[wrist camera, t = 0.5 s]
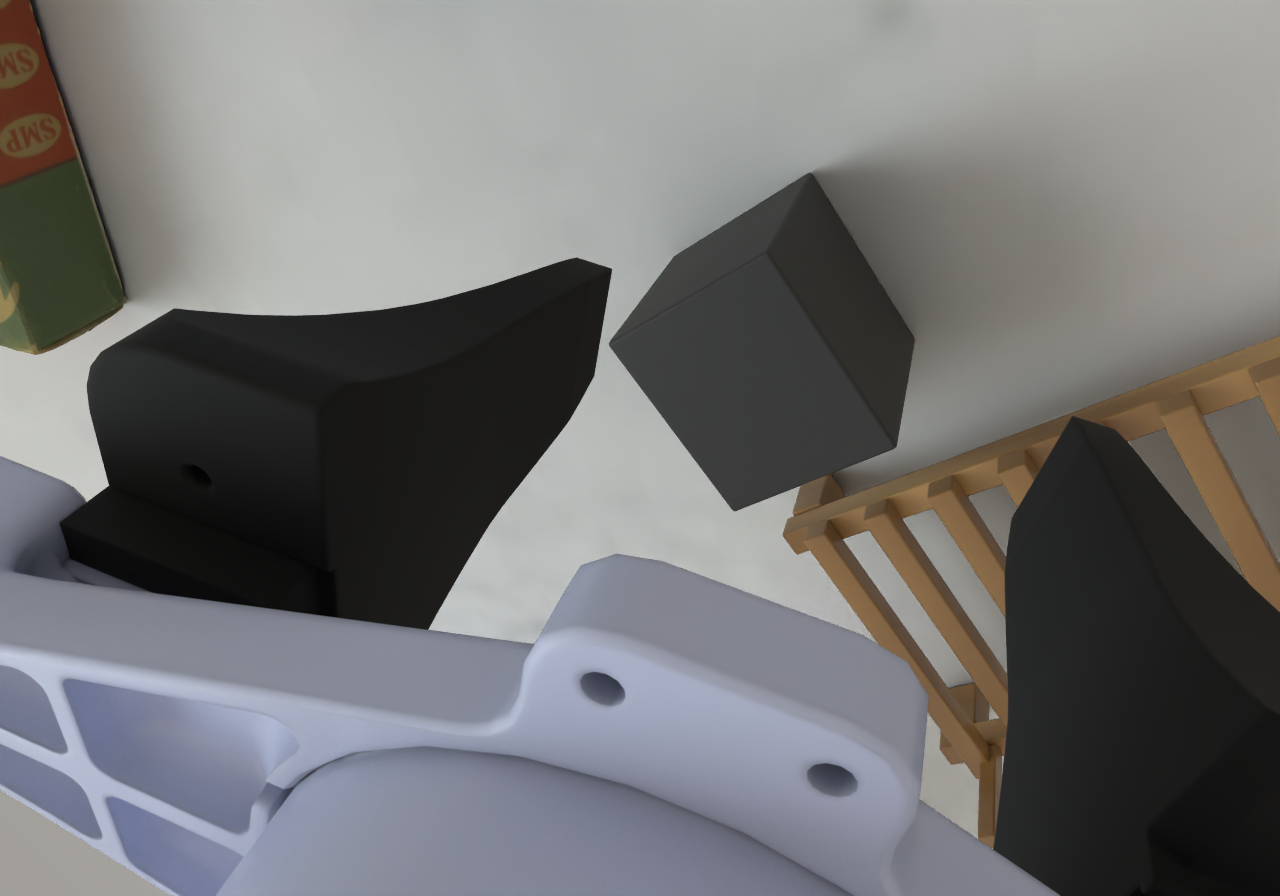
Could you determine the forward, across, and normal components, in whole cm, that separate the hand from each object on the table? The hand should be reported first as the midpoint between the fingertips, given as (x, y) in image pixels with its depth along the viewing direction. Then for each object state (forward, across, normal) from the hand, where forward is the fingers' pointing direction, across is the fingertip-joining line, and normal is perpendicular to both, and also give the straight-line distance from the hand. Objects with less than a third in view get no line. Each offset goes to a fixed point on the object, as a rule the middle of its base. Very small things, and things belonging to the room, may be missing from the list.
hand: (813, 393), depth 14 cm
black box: (+10, +1, +3) cm, 11 cm away
